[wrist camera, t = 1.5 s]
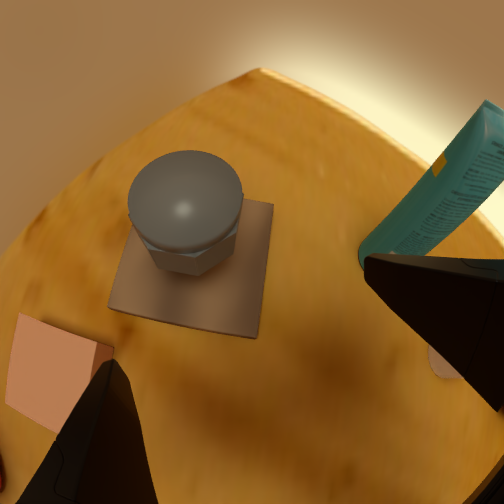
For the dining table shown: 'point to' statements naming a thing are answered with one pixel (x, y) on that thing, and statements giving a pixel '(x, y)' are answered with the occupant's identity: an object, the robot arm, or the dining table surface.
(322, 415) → the dining table surface
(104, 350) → the stand
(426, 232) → the tube
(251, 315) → the square base plate
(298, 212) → the dining table surface
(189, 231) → the cap
